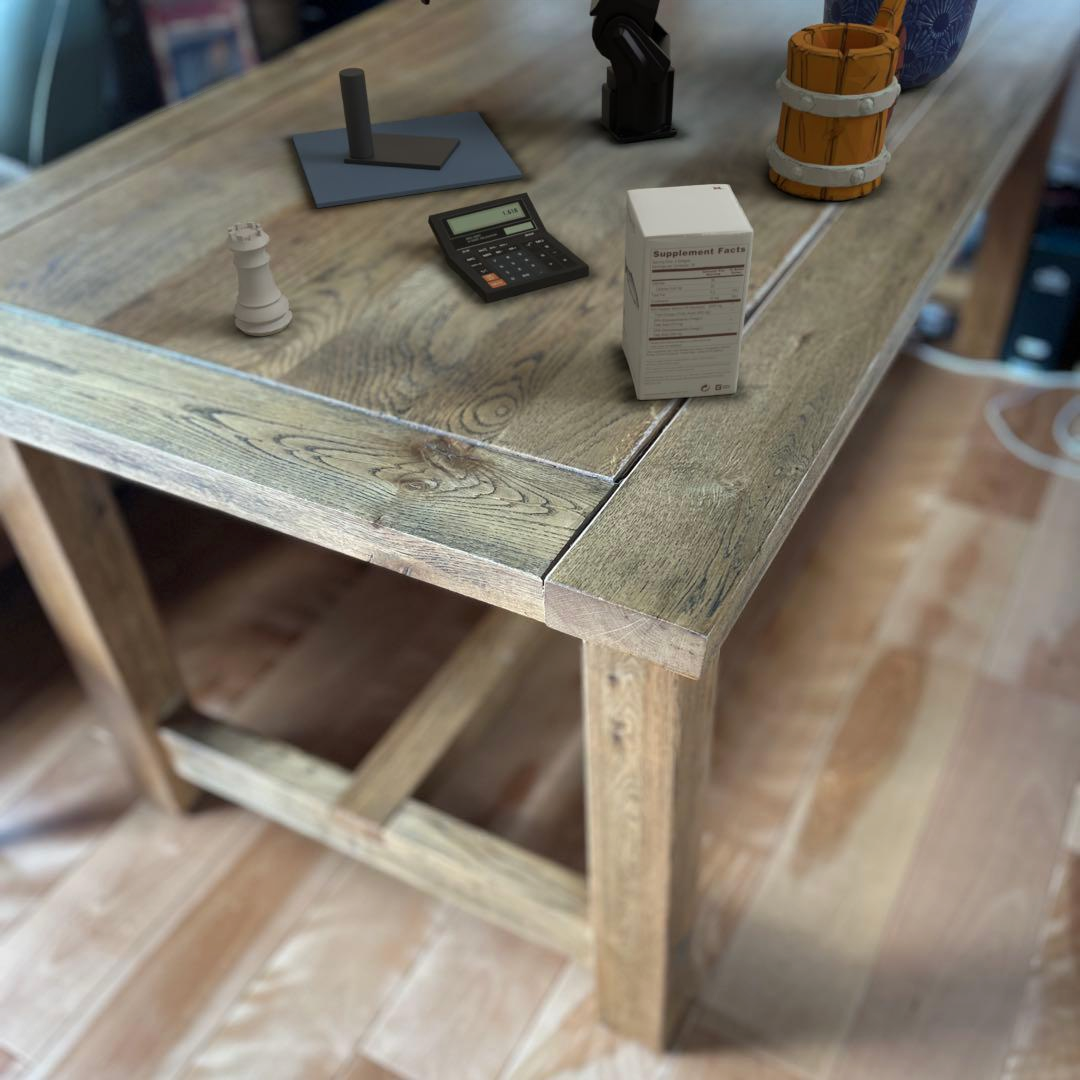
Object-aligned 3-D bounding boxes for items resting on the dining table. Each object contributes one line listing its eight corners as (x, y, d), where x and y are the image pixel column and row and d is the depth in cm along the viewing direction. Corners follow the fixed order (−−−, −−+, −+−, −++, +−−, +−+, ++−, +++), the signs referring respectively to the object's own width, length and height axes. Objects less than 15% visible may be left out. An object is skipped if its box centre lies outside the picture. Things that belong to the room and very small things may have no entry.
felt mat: (476, 115, 121) (476, 110, 120) (522, 178, 108) (522, 173, 107) (292, 139, 117) (291, 134, 116) (317, 208, 103) (316, 203, 103)
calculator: (487, 303, 89) (485, 268, 87) (430, 246, 97) (427, 213, 95) (588, 275, 92) (588, 241, 90) (525, 222, 100) (524, 190, 98)
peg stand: (460, 143, 113) (454, 57, 108) (440, 170, 108) (432, 81, 103) (368, 137, 115) (357, 51, 110) (344, 163, 110) (331, 75, 105)
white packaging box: (619, 348, 83) (624, 186, 75) (717, 342, 84) (732, 180, 76) (634, 403, 78) (641, 235, 70) (738, 396, 78) (757, 228, 70)
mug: (742, 183, 106) (758, 15, 96) (834, 133, 114) (858, -26, 105) (841, 214, 100) (870, 39, 90) (930, 159, 109) (965, -6, 99)
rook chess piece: (303, 314, 88) (286, 219, 83) (275, 342, 85) (256, 245, 80) (254, 306, 90) (234, 212, 84) (225, 333, 86) (202, 237, 81)
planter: (937, 113, 118) (971, -44, 108) (787, 87, 125) (805, -63, 115) (981, 66, 129) (1015, -81, 119) (840, 45, 135) (861, -96, 125)
